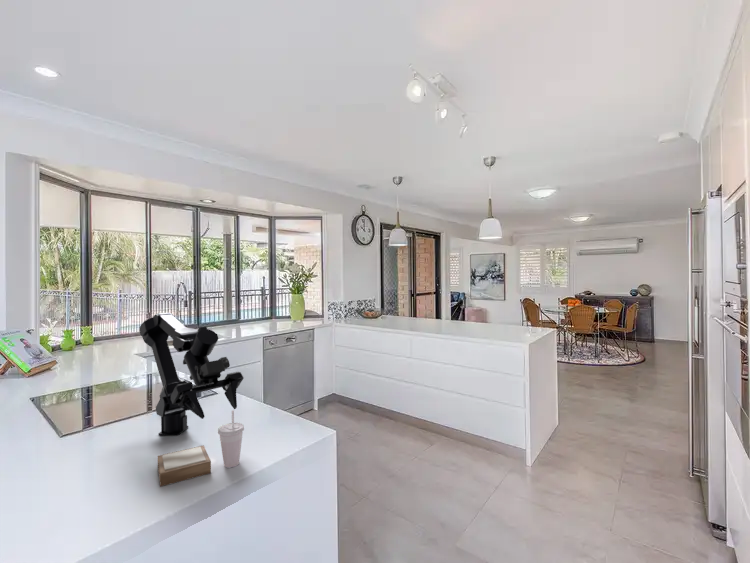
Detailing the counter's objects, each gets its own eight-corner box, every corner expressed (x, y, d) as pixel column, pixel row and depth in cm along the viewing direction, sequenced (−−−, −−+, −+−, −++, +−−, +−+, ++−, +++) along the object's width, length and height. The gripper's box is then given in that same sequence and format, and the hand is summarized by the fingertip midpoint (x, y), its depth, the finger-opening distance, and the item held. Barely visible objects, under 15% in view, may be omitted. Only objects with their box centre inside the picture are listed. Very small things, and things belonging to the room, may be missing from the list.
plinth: (157, 467, 98) (157, 454, 98) (203, 456, 104) (203, 444, 104) (160, 486, 89) (160, 472, 89) (210, 473, 95) (210, 460, 95)
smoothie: (235, 471, 96) (235, 415, 96) (213, 469, 97) (212, 414, 97) (249, 459, 102) (248, 407, 102) (227, 457, 103) (226, 405, 103)
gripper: (174, 354, 99) (195, 405, 92) (239, 344, 114) (261, 387, 107) (162, 380, 104) (181, 429, 97) (226, 367, 119) (246, 409, 112)
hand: (220, 412), depth 103 cm, fingers open, 9 cm apart
